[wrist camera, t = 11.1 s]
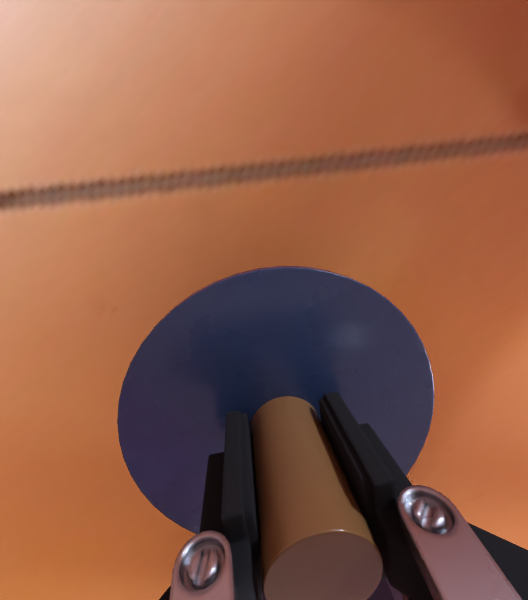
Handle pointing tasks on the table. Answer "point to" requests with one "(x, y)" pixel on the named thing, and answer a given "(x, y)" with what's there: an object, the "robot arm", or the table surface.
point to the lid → (278, 414)
